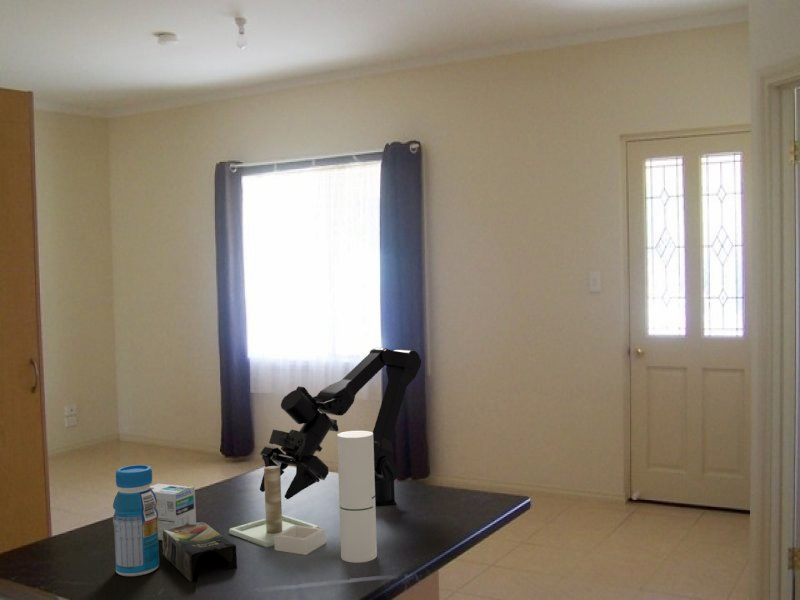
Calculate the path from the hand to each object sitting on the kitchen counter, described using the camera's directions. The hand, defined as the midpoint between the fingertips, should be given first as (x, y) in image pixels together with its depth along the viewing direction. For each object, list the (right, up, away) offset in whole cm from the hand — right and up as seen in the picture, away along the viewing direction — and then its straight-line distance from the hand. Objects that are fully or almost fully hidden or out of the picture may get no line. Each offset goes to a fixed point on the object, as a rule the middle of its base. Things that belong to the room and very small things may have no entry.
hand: (273, 494), depth 173 cm
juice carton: (-12, -10, -16) cm, 22 cm away
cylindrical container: (+20, -9, -16) cm, 27 cm away
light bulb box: (-24, -10, +2) cm, 26 cm away
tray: (0, -9, 0) cm, 9 cm away
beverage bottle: (-24, -10, -19) cm, 32 cm away
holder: (+7, -9, -10) cm, 15 cm away
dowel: (0, -8, 0) cm, 8 cm away
